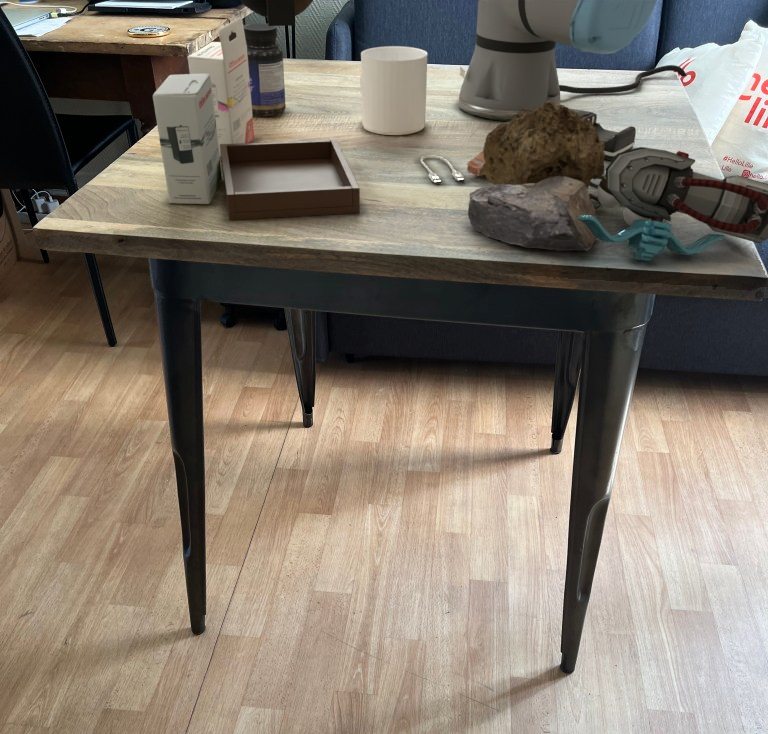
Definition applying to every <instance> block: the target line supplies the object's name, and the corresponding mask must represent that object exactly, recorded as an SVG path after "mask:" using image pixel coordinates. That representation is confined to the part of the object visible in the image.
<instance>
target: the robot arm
mask: <svg viewBox="0 0 768 734" xmlns="http://www.w3.org/2000/svg"><path fill="white" fill-rule="evenodd" d="M657 1H658V0H478V3H477V16H476V17H477V18H476V34H475V43H474V44H475V45H474V51H473V54H472V56H471V59H470V62H469V65H468V68H467V70H466V71H465V70H464V69H463V67H462V66H460V67H459V75H460V76H461V78H463V80H462V81H463V82H462V84H461V87H460V92H459V97H458V106H459V108H460V109H461V110H462V111H463V112H466V113H467V114H469V115H473V116H475V117H479V118H483V119H489V120H495V121H505V122H509V121H511V119H512V117H513V115H514V114H516V113H519V112H522V110H523V109H525V108H531V109H533V110H534V109H537V108H538V107H539V106H541V105H543V104H544V103H545V102H547V101H551V102H552V103H556V104H558V105H561V92H563V93H564V92H565V93H570V94H577V95H578V94H580V95H583V94H585V95H588V94H590V95H592V94H593V95H595V94H596V95H597V94H615V93H623V92H628V91H633V90H635V89H637V88H639V86H640V85H641V82H642V81H641V79H643V78H646V77H650V76H652V75H656V74H660V73H663V72H676V73H677V74H679V76H680V77H684V78H685V77H687V73H686V71H685V70H684V69H683V68H682V67H681V66H678V65H675V64H669V65H667V64H666V65H662V66H657V67H655V68H652V69H648V70H645V71H641V72H639V73H638V74H637V75H636V77H635V81H634V82H633V83H630V84H624V85H620V86H606V87H578V86H577V87H576V86H570V85H565V84H560V82H559V75H558V68H557V62H556V56H555V55H556V54H555V52H556V44H557V43H558V44H561V45H563V46H567V47H571V48H574V49H575V50H578V51H579V52H582V53H594V54H600V55H610V54H613V53H616V52H619V51H621V50H622V49H624V48H626V47H627V46H628V45H630V44H631V43H632V42H633V40H634V39H635V38H636V36H638V35H640V33H641V32H642V31H643V30H644V28H645V27H646V25H647V23H648V22H649V20H650V18H651V16H652V14H653V12H654V9H655V7H656V4H657ZM267 15H268V18H267V24H268V26H276V27H287V26H288V27H290V26H291V27H292V26H293V27H296V16H295V2H294V0H267Z"/></svg>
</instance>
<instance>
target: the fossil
mask: <svg viewBox="0 0 768 734" xmlns="http://www.w3.org/2000/svg"><path fill="white" fill-rule="evenodd" d="M570 109H571V108H569V107H567V106H565V105H563V104H560V105H558V104H556V103H552V102H551V101H547V102H545V103H544V104H543V105H541V106H539V107H538V108H537V109H534V110H533V109H531V108H525V109H523V110H522V112H519V113H516V114H514V115H513V117H512V119H511V121H505V122H502V123H499V124H498V125H497V126H496V127H494V128H492V130H491V131H490V132H488V133H487V135H486V137H485V142H484V146H483V150H482V151H483V153H484V155H483V156H484V160H485V163H484V164H483V172H484V174H485V175H484V176H485V177H486V179H487V181H488V182H490V183H491V184H492V185H496V184H512V185H522V184H528V183H538V182H540V181H542V180H544V179H547V178H550V177H555V176H561V177H564V176H566V177H569V178H573V179H576V180H579V181H582V182H583V183H584V184H585V185H586V187H587V189H589V187H590V186H589V185H590V184H591V182H592V180H597V179H596V178H598V177H600V176H601V175H605V174H606V173H605V168H606V167H605V166H606V165H605V159H604V157H605V153H604V151H603V150H604V147H605V144H604V142H602V141H601V140H600V139H599V136H598V134H597V133H596V131H595V128H594V127H593V124H592V122H591V121H589V120H587V119H585V118H584V117H582V116H581V115H578V114H577V113H576V112H575V111H571V110H570ZM590 181H591V182H590Z"/></svg>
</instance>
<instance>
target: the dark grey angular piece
mask: <svg viewBox="0 0 768 734" xmlns="http://www.w3.org/2000/svg"><path fill="white" fill-rule="evenodd" d="M569 109H570V110H571V111H575V112H576V113H577V114H578V115H581V116H582V117H584V118H585V119H587V120H589V121H591V122H592V124H593V127H594V128H595V131H596V133H597V134H598V136H599V139H600V140H601V141H602V142H604V144H605V147H604V150H603V151H604V153H605V157H604V160H606V161H610V162H611V161H612V160H613V159H614V158H615V156H616V155H617V154H618V153H621V152H625V151H629V150H632V149H634V146H635V143H636V133H637V129H636V127H635V126H633V125H632V126H631V125H630V126H628V127H626V128H624V129H623V130H620V131H615V130H609V129H606V128H604V127H602V125H601V124H600V122H597V115H598V114H597V113H596V112H595V113H594V112H593V111H587V110H582V109H574V108H569Z"/></svg>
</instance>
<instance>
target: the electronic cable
mask: <svg viewBox="0 0 768 734" xmlns="http://www.w3.org/2000/svg"><path fill="white" fill-rule="evenodd" d="M425 159H439V160H441V161H444V162H445V163H446V164H447V165H448V167H449V168H450V170H451V175H452V177H453V178H454V179H455V180H456V181H458V182H465V181H466V179H465V176H464V174H462V173H461V172H460V171H459V170H458V171H457V170H456V169H455V167H454V166H453V165H452V164H451V162H450V161H449V160H448V159H446V158H445V157H443V156H442V155H441V156H440V155H436V154H429V155H423V156H421V157H420V160H419V161H420V163H421V165H422V166H423V167H424V168H425V169H426V171H428V178H429V179H430V181H431V182H432V183H433V184H441V183H442V178H441V177H439V175H438V173H435V172H433V171H432V170H431V169H430V168H429V166H428V165H427V164H426V163H425V162H424V160H425Z"/></svg>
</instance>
